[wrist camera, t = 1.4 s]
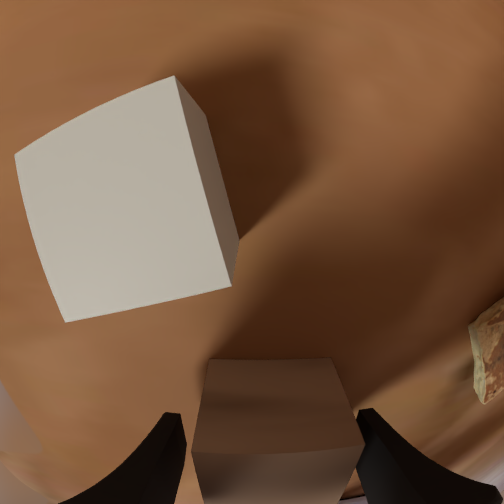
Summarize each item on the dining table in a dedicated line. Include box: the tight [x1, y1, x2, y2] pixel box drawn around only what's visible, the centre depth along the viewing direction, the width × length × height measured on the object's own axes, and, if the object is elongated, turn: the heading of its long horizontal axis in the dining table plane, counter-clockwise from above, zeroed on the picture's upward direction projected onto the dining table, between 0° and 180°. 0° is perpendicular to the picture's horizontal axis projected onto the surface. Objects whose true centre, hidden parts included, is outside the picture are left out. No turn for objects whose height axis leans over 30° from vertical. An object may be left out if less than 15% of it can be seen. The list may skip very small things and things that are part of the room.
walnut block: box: [191, 357, 365, 504], centre depth 10 cm, size 5×5×5 cm
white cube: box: [15, 76, 239, 322], centre depth 8 cm, size 4×4×4 cm
